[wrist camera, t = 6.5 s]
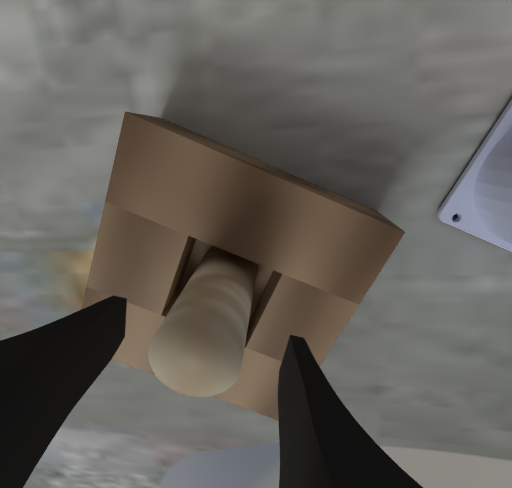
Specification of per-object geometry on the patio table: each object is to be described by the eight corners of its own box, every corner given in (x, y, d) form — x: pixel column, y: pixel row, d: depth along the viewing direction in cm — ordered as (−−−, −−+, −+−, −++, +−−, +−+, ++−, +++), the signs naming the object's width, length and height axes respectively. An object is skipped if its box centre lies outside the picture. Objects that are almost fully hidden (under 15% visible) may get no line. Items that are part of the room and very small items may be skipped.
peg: (260, 249, 18) (247, 329, 10) (252, 299, 19) (235, 403, 12) (203, 240, 18) (148, 313, 10) (198, 290, 19) (147, 388, 12)
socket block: (378, 212, 18) (404, 232, 14) (283, 374, 22) (284, 422, 19) (159, 117, 17) (125, 111, 13) (109, 308, 21) (74, 344, 18)
